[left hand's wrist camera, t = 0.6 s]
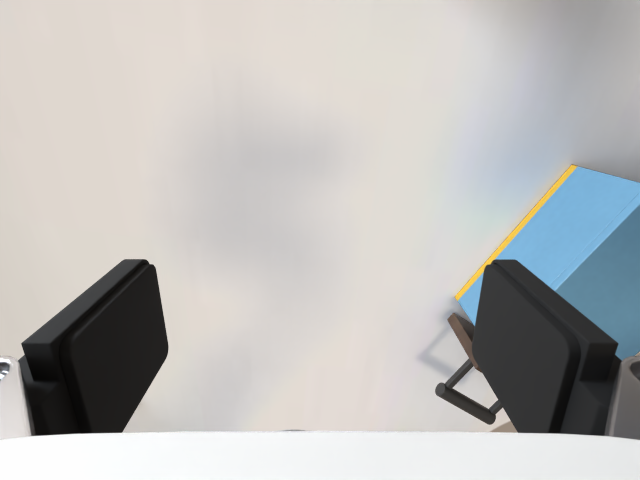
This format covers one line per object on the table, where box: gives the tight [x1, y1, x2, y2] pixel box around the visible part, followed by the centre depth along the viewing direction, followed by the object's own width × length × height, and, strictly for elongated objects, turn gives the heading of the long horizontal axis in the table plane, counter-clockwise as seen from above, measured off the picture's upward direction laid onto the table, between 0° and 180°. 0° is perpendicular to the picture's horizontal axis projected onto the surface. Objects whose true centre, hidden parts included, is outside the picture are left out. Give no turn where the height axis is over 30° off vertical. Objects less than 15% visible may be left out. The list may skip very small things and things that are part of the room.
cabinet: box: [455, 165, 640, 360], centre depth 38 cm, size 19×11×11 cm, turn 147°
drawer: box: [435, 313, 503, 425], centre depth 40 cm, size 24×10×9 cm, turn 147°
